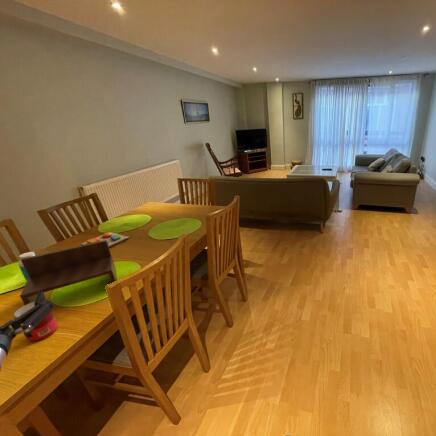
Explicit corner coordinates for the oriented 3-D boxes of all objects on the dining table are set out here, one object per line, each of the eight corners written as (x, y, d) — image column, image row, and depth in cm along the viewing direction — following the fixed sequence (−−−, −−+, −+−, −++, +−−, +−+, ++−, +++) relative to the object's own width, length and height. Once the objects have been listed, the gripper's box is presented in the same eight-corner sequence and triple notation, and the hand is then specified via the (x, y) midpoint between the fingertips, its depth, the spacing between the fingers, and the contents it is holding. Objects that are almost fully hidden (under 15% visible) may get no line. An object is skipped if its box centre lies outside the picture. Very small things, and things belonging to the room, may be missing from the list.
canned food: (64, 322, 88) (52, 298, 84) (47, 340, 81) (34, 315, 76) (40, 325, 87) (27, 301, 83) (21, 344, 79) (6, 318, 75)
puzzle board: (102, 251, 136) (100, 246, 135) (80, 246, 142) (78, 241, 141) (130, 238, 152) (129, 233, 150) (109, 234, 157) (107, 229, 156)
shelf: (29, 314, 92) (9, 277, 85) (38, 292, 104) (21, 258, 97) (117, 286, 107) (106, 253, 100) (116, 270, 119) (106, 239, 112)
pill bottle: (32, 285, 108) (19, 260, 103) (23, 282, 110) (10, 257, 105) (53, 276, 114) (41, 251, 109) (43, 273, 117) (32, 249, 112)
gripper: (-104, 406, 48) (-52, 335, 64) (62, 342, 61) (71, 297, 77) (-130, 380, 45) (-68, 313, 61) (51, 319, 58) (62, 277, 74)
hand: (10, 304), depth 69 cm, fingers open, 13 cm apart
